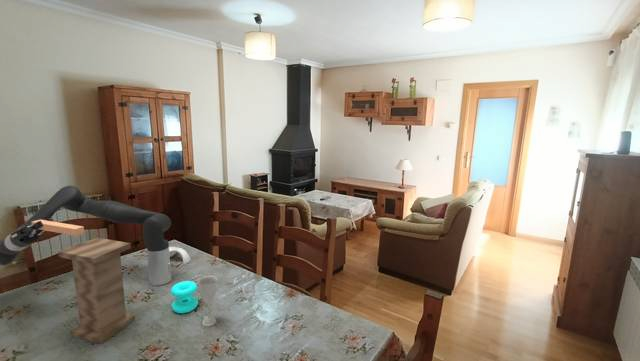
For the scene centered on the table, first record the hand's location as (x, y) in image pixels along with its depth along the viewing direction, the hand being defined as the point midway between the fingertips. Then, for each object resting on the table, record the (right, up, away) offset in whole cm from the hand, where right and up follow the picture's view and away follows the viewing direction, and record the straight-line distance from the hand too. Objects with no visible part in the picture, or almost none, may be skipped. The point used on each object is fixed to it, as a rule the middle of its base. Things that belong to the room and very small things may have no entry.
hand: (46, 221), depth 115 cm
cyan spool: (+46, -38, +15) cm, 61 cm away
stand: (+21, -40, +1) cm, 45 cm away
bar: (+5, -3, -1) cm, 6 cm away
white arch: (+19, -29, +60) cm, 69 cm away
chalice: (+59, -40, +6) cm, 72 cm away
